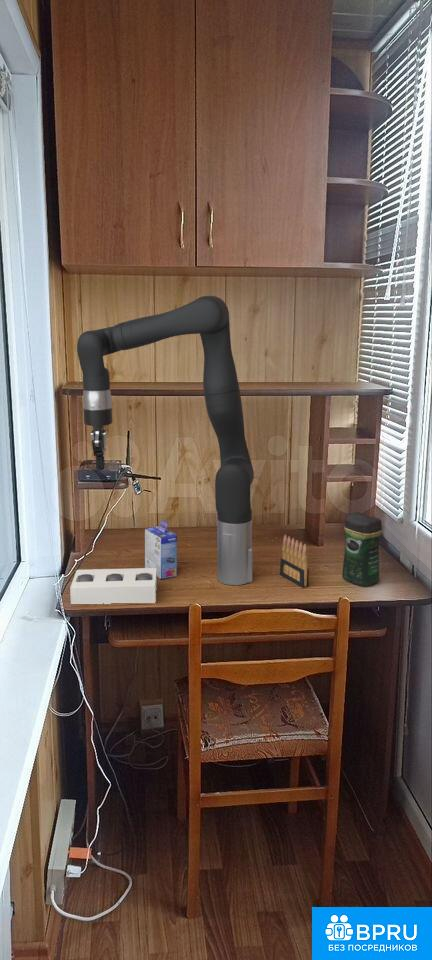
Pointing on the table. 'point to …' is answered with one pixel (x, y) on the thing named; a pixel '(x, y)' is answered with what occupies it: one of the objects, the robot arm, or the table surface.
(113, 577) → the knob middle
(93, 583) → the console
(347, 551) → the coffee jar
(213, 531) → the table surface
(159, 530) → the ink cartridge box
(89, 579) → the knob
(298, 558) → the ammunition clip
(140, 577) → the knob
